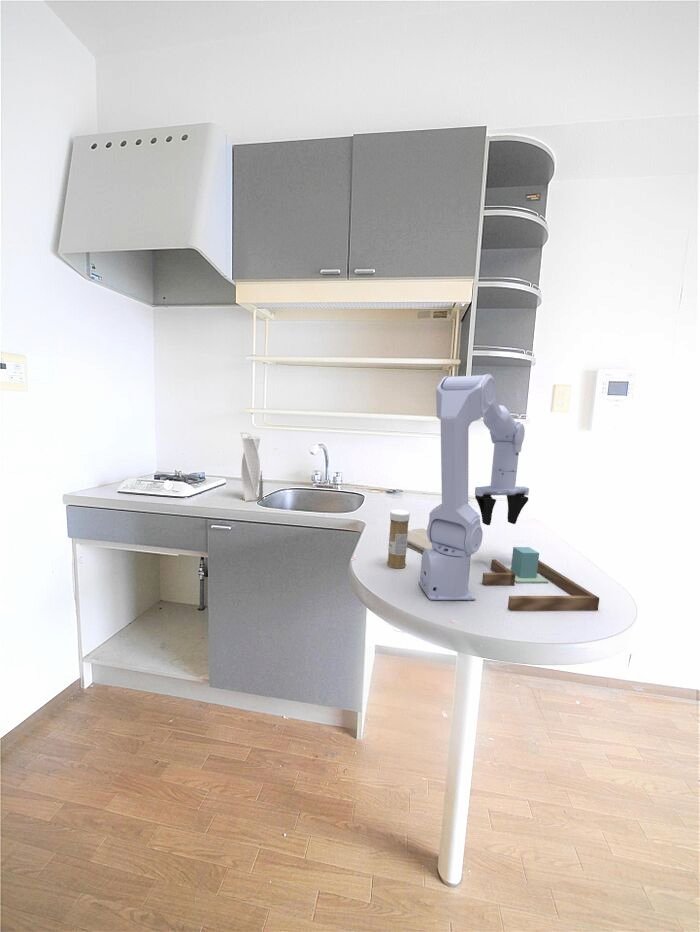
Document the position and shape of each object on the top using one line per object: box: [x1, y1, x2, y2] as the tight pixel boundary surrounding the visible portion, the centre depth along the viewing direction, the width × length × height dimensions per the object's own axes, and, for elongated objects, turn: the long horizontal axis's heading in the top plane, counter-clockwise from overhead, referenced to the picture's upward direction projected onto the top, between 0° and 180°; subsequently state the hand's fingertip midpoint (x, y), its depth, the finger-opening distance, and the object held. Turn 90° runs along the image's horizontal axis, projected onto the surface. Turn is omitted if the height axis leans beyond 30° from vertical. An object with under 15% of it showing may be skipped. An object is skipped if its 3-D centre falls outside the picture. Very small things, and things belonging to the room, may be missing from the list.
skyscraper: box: [240, 431, 265, 503], centre depth 154 cm, size 8×8×28 cm
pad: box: [506, 567, 550, 584], centre depth 88 cm, size 8×8×1 cm
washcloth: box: [407, 528, 433, 555], centre depth 108 cm, size 12×18×3 cm, turn 31°
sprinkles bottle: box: [386, 509, 410, 569], centre depth 90 cm, size 5×5×14 cm
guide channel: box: [481, 559, 600, 612], centre depth 82 cm, size 18×20×2 cm
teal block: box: [510, 546, 540, 578], centre depth 88 cm, size 4×4×6 cm
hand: (499, 523), depth 95 cm, fingers open, 7 cm apart
